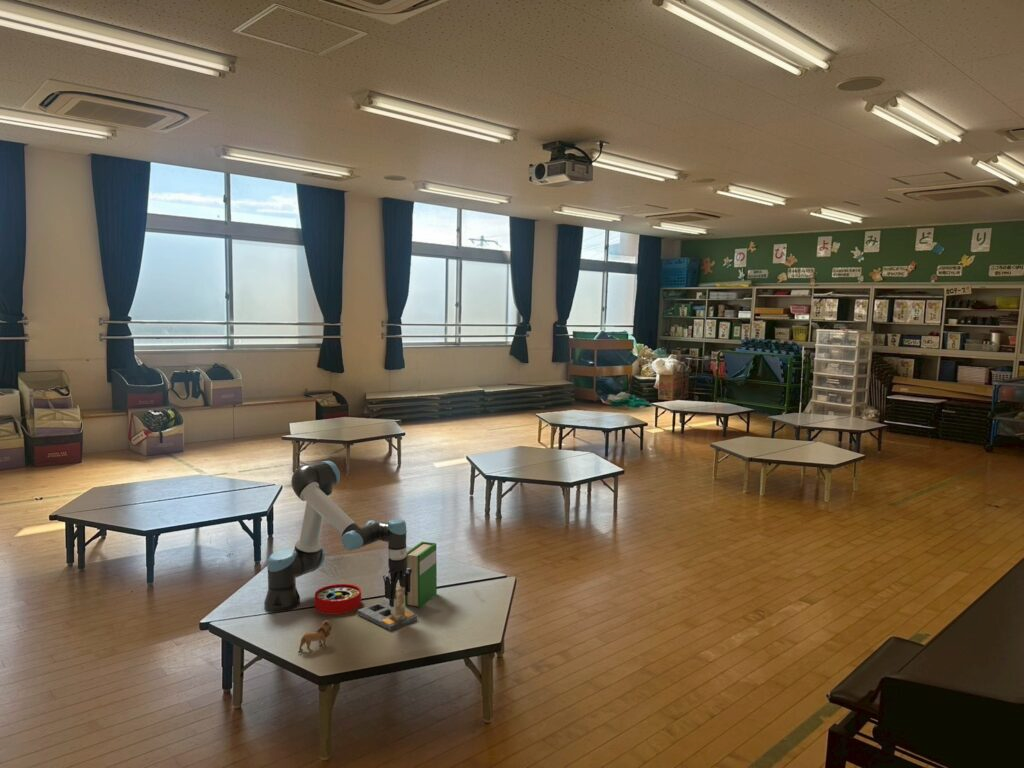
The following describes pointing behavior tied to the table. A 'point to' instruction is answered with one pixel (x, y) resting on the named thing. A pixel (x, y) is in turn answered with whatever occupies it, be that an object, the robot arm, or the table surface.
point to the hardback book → (422, 574)
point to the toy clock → (337, 599)
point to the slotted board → (382, 620)
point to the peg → (399, 604)
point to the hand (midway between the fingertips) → (398, 611)
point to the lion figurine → (316, 636)
